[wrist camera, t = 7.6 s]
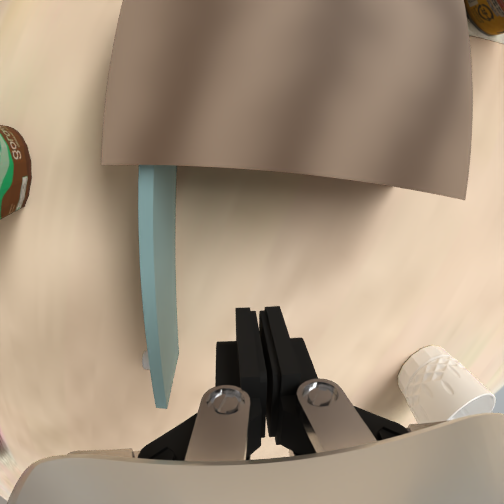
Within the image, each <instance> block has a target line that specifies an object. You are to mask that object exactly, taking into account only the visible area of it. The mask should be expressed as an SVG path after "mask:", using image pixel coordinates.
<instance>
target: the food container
mask: <svg viewBox="0 0 504 504" xmlns="http://www.w3.org/2000/svg"><path fill="white" fill-rule="evenodd" d="M31 179H32V175H31V159H30V155H29V151H28V147H27V144H26V143H25V141H24V139H23V137H22V136H21V135H20V133H19V132H18V131H16V130H15V129H14V128H11V127H9V126H3V125H0V219H2V218H4V217H6V216H7V215H9V214H11V213H13V212H15V211H17V210H19V209H21V208H22V207H24V206H25V204H26V201H27V198H28V196H29V191H30V185H31Z"/></svg>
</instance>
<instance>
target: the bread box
mask: <svg viewBox="0 0 504 504" xmlns="http://www.w3.org/2000/svg"><path fill="white" fill-rule="evenodd" d="M472 112H473V91H472V65H471V51H470V40H469V31H468V24H467V16H466V10H465V4H464V0H123V2H122V6H121V10H120V15H119V19H118V24H117V29H116V34H115V39H114V44H113V50H112V56H111V62H110V69H109V76H108V84H107V92H106V101H105V111H104V122H103V136H102V155H101V165H175V166H202V167H221V168H237V169H251V170H264V171H276V172H286V173H296V174H306V175H315V176H323V177H331V178H339V179H347V180H354V181H361V182H368V183H375V184H381V185H387V186H394V187H400V188H405V189H411V190H417V191H422V192H427V193H433V194H438V195H443V196H448V197H452V198H457V199H462V200H465V197H466V190H467V182H468V174H469V164H470V153H471V138H472Z"/></svg>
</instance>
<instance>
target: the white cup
mask: <svg viewBox="0 0 504 504" xmlns="http://www.w3.org/2000/svg"><path fill="white" fill-rule="evenodd" d="M398 386H399V388H400V390H401V392H402V393H403V395H404V397H405V398H406V401H407V403H408V406H409V408H410V409H411V411H412V413H413V415H414V417H415V419H416V421H417V423H418V424H422V423H432V422H440V421H448V420H453V419H456V418H461V417H465V416H469V415H475V414H481V413H492V411H493V408H494V406H495V401H496V399H495V396H494V394H493V393H491V392H490V391H489V390H488V389H487V388H486V387H485V386H484V385H483V384H482V383H481V382H480V381H479V380H478V379H477V378H476V377H475V376H474V375H473V374H472V373H471V372H470V371H469V370H468V369H467V368H465V367H464V366H463V365H462V364H461V363H460V362H459V361H457V360H456V359H454V358H453V357H452V356H451V355H450V354H449V353H448V352H447V351H446V350H444V349H443V348H442V347H440V346H435V345H431V346H428V347H424V348H422V349H420V350H419V351H417V352H416V353H414V354H413V355H412V356H411V357H410V358H409V359H408V360H407V361H406V362H405V364H404V365H403V366H402V368H401V371H400V373H399V375H398Z"/></svg>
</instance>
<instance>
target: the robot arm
mask: <svg viewBox="0 0 504 504" xmlns="http://www.w3.org/2000/svg"><path fill="white" fill-rule="evenodd" d="M266 420H267V426H268V433H269V437H275V441H276V445H282V446H284V447H286V448H288V449H289V455H290V457H282V458H271V459H258V460H251V454H252V453H253V452H254V451H255V450H257V449H258V448H259V447H260V446H261V438H264V437H265V422H266ZM7 504H504V414H501V413H481V414H475V415H469V416H465V417H461V418H456V419H453V420H448V421H440V422H432V423H422V424H411V425H409V426H408V428H405V427H403V426H402V425H400V424H398V423H396V422H393V421H390V420H388V419H385V418H383V417H380V416H377V415H375V414H372V413H370V412H367V411H365V410H362V409H360V408H357V407H355V406H353V405H352V403H351V402H350V400H349V399H348V398H347V396H346V395H345V393H344V392H343V390H342V389H341V388H340V387H339V386H338V385H337V384H336V383H334V382H332V381H330V380H326V379H318V377H317V374H316V372H315V369H314V366H313V364H312V361H311V359H310V356H309V353H308V351H307V348H306V345H305V343H304V340H303V338H290V337H289V334H288V331H287V328H286V324H285V321H284V318H283V315H282V312H281V309H280V306H275V307H265V311H260V314H259V327H258V322H257V316H256V311H250V308H236V341H227V342H217V344H216V387H213V388H211V389H209V390H208V391H207V392H206V393H205V394H204V395H203V397H202V399H201V403H200V407H199V410H198V413H196V414H195V415H193V416H192V417H190V418H189V419H187V420H186V421H184V422H183V423H181V424H180V425H178V426H177V427H175V428H173V429H172V430H170V431H169V432H167V433H165V434H164V435H162V436H161V437H159V438H157V439H156V440H154V441H152V442H151V443H149V444H148V445H146V446H145V447H144V448H142V450H141V451H133V450H132V448H131V449H117V450H94V451H74V452H70V453H68V454H67V455H60V456H52V457H48V458H44V459H41V460H38V461H36V462H34V463H33V464H31V465H30V466H29V467H28V468H27V469H26V470H25V471H24V472H23V474H22V475H21V477H20V478H19V480H18V482H17V483H16V485H15V487H14V489H13V491H12V493H11V495H10V497H9V500H8V502H7Z"/></svg>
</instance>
